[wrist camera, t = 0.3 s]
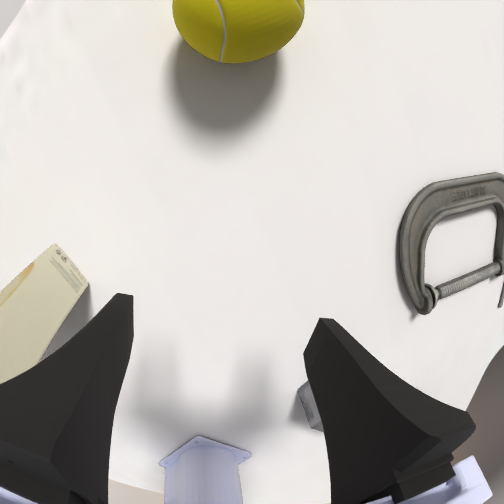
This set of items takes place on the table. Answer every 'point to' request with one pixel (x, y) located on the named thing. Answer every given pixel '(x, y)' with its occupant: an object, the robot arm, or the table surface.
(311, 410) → the brushed steel cube
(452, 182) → the c clamp
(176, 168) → the table surface
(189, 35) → the tennis ball
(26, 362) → the skincare box
